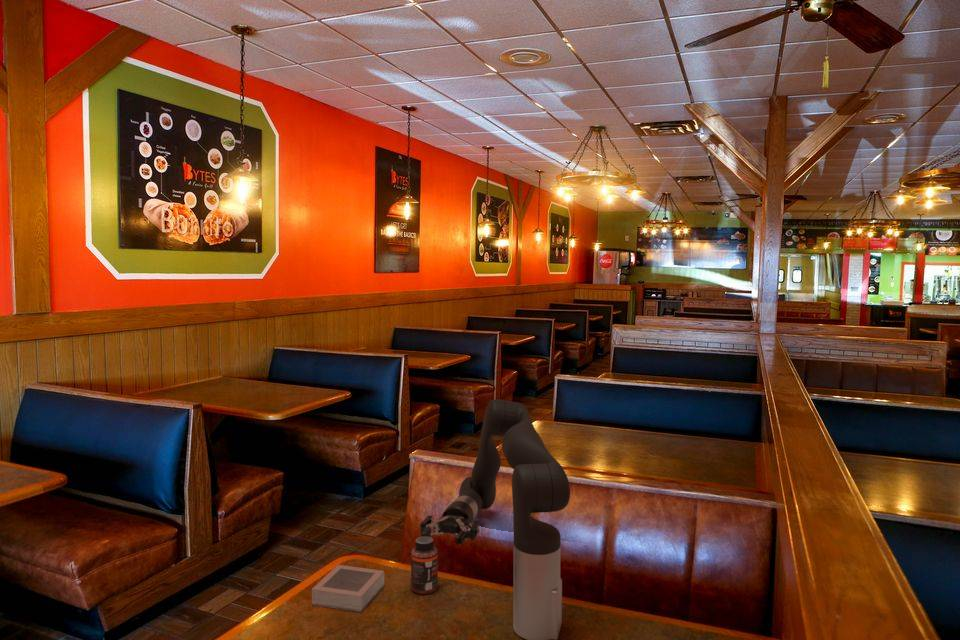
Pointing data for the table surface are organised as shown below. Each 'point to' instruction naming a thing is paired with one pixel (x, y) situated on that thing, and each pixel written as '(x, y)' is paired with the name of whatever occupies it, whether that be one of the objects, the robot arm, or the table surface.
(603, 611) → the table surface
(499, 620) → the table surface
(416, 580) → the supplement bottle
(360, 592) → the square holder
